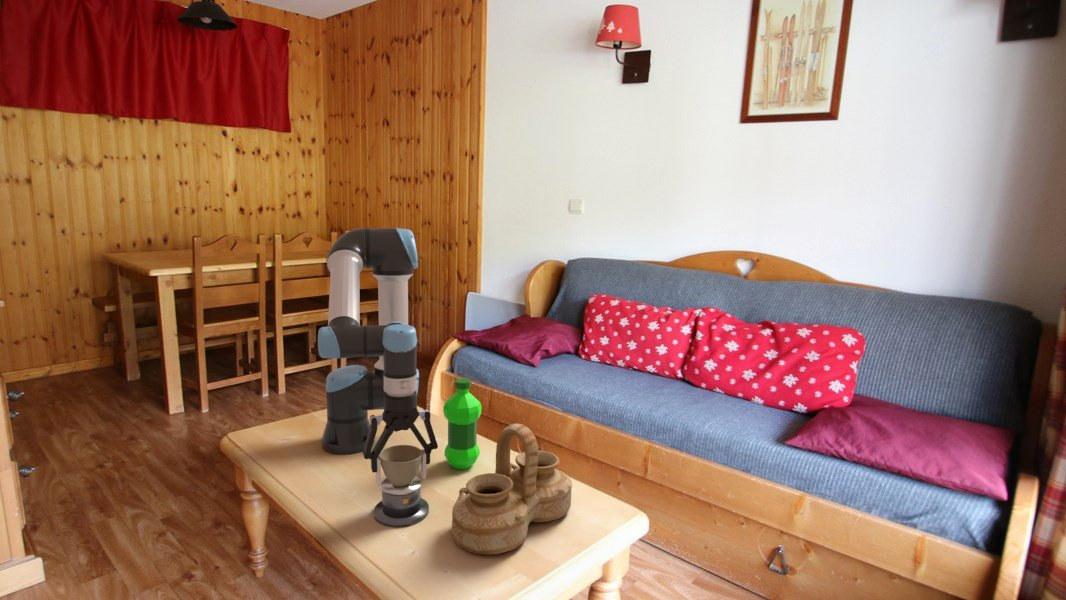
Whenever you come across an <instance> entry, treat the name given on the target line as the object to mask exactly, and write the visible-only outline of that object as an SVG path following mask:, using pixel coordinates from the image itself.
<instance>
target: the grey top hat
mask: <svg viewBox="0 0 1066 600" xmlns="http://www.w3.org/2000/svg"><path fill="white" fill-rule="evenodd" d="M421 486H422V480H421V479H420V478H419V477H418V476H417V475H415V477H414V478H413V480H412V481H411V482H410V483H409V484H407V485H404V486H395V485H393V484H391V483H390V482H389V480H388V479H387V477H386V478H384V479H383V480H381V486H380V488H381V489H380V490H381V500H380V501H378V503H377V504H376V505H375V506H374V508H373V518H374V520H375V521H376V522H377V523H379V524H380V525H382V526H384V527H390V528H405V527H410V526H413V525H416V524H418V523H420V522H422V521H423V520H425V519H426V518H427V516H428V515H429V511H430V509H429V507H430V505H429V503H428V501H426V499H424V498H423V497H421Z"/></svg>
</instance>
